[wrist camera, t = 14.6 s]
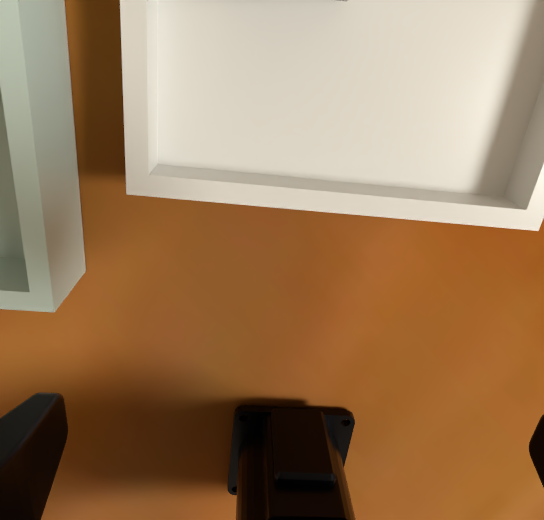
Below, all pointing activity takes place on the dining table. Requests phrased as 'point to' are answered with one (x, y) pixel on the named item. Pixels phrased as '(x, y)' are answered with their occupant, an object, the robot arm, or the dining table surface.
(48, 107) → the dish
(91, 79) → the dining table surface
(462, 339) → the dining table surface
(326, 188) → the parts tray
